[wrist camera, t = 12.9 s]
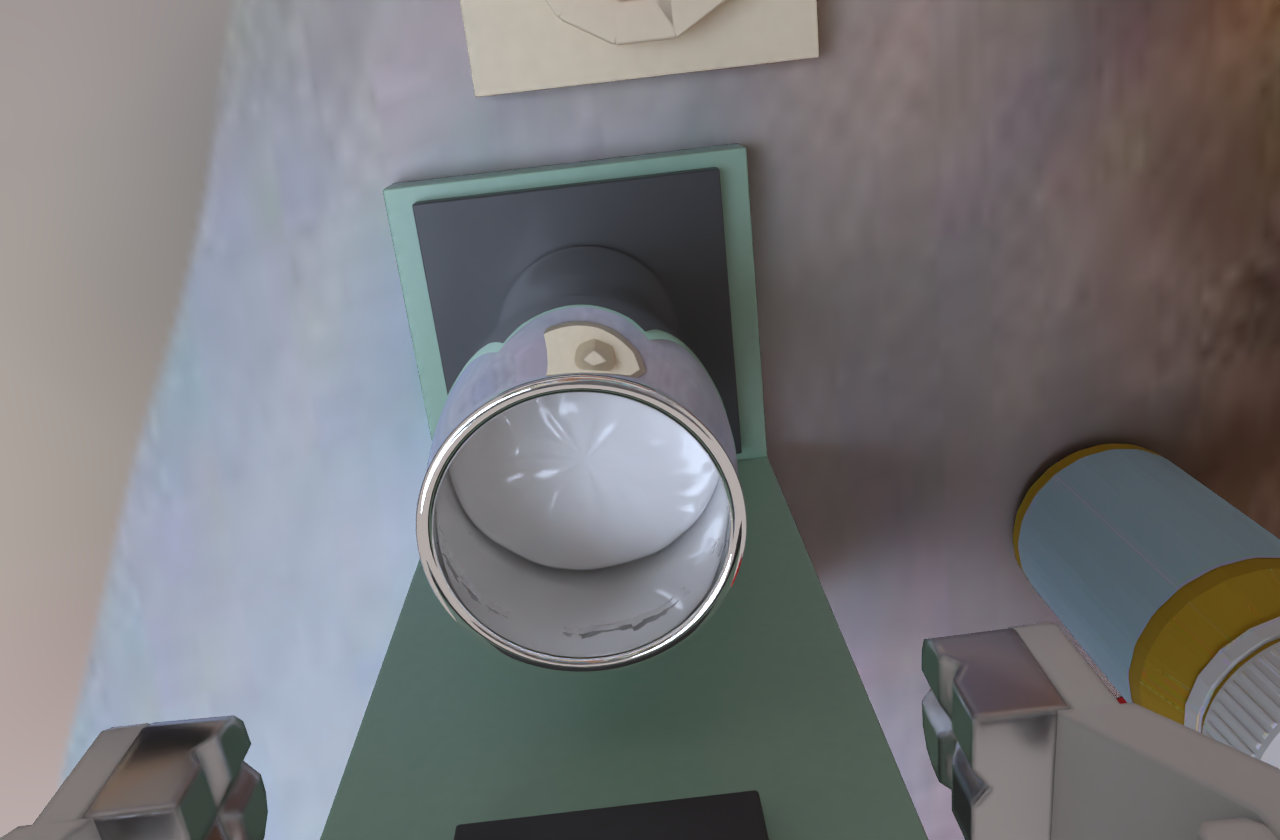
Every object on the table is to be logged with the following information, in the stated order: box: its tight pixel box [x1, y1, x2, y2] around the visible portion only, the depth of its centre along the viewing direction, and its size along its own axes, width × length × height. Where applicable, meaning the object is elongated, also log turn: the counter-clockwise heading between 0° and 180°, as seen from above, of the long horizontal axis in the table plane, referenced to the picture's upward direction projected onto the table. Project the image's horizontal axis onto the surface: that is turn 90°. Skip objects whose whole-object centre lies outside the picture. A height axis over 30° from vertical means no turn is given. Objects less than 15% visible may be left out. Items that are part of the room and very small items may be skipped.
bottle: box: [1013, 444, 1280, 769], centre depth 32 cm, size 7×7×15 cm
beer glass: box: [416, 246, 747, 674], centre depth 26 cm, size 7×7×15 cm
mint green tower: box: [320, 144, 928, 840], centre depth 24 cm, size 13×18×27 cm
